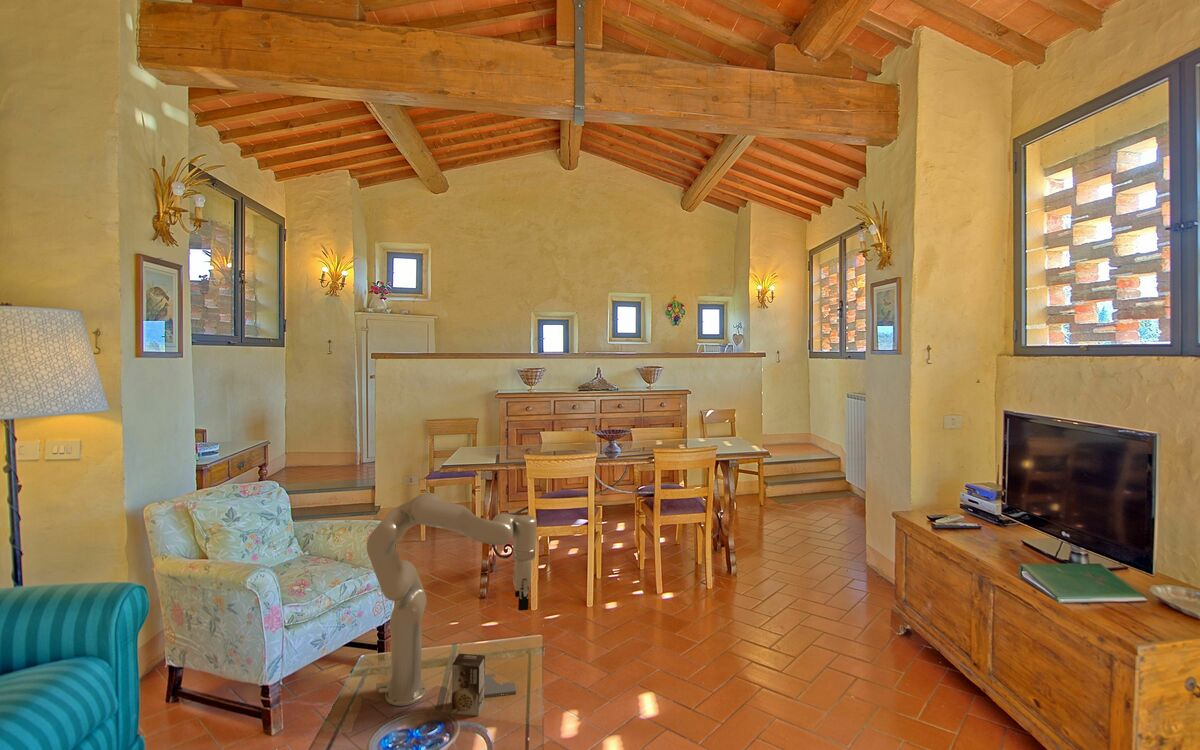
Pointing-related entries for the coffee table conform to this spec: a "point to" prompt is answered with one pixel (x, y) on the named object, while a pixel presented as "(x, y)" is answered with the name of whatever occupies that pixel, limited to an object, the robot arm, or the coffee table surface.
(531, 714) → the coffee table surface
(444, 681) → the coffee table surface
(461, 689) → the coffee box
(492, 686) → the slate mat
